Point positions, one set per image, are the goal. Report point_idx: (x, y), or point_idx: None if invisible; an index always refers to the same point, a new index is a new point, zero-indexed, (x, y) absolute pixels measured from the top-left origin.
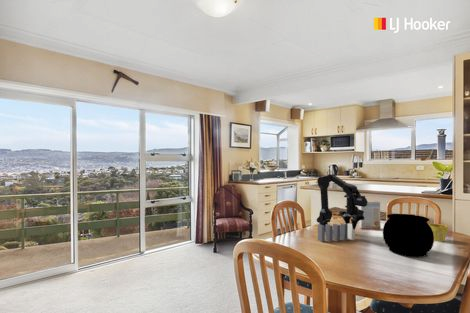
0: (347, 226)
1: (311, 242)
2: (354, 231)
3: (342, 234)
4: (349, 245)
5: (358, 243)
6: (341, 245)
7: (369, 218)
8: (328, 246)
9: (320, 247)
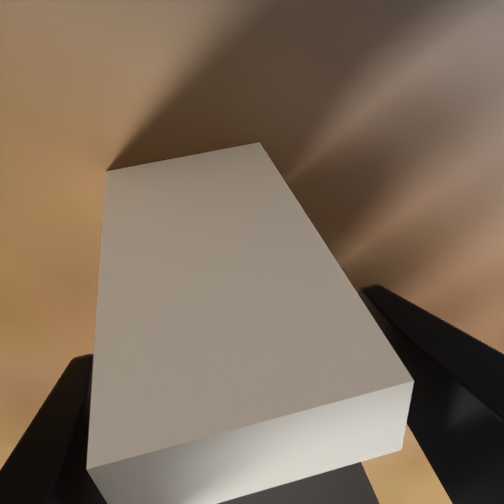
0: (375, 495)
1: None
2: (317, 241)
3: None
4: (473, 315)
5: (457, 180)
6: None
7: None
8: (421, 462)
9: (421, 499)
